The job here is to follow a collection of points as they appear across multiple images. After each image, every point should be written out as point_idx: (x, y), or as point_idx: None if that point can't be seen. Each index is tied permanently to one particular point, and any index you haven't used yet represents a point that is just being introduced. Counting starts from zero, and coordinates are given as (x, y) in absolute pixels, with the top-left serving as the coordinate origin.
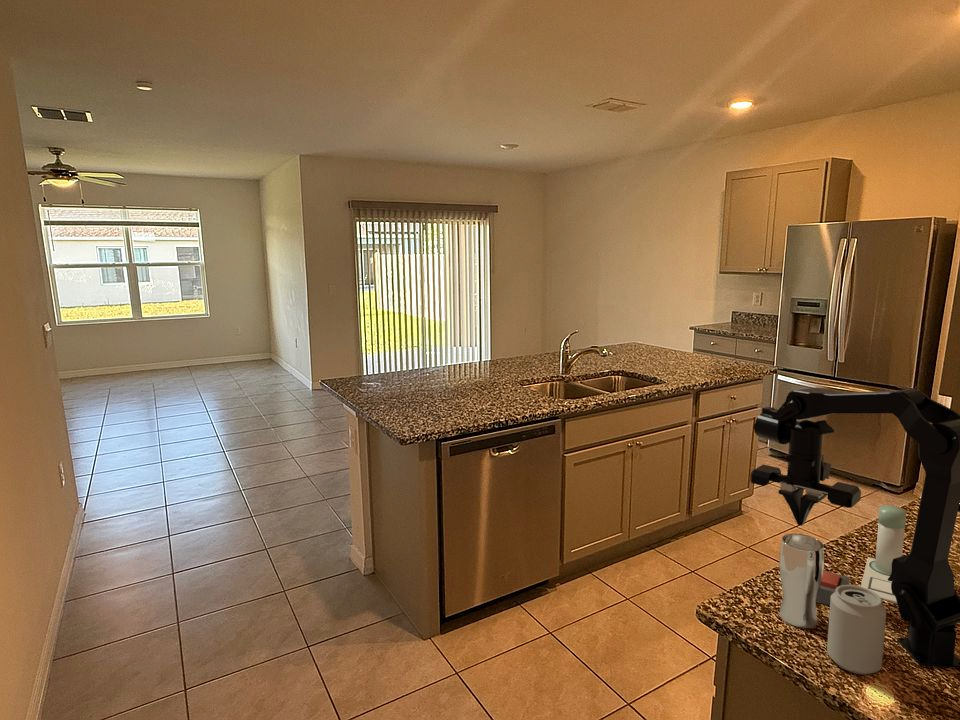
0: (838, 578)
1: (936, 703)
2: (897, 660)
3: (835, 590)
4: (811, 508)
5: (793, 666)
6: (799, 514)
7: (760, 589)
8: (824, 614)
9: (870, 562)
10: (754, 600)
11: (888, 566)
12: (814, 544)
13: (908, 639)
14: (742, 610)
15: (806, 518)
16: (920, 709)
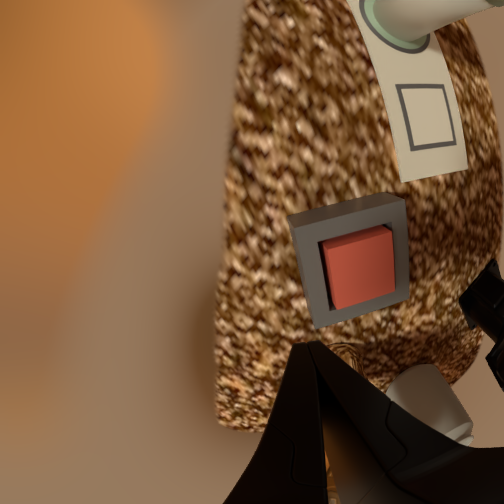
0: (392, 251)
1: (467, 365)
2: (451, 338)
3: (390, 297)
4: (402, 412)
5: None
6: (324, 446)
7: (234, 340)
8: (365, 323)
9: (360, 8)
10: (250, 376)
11: (417, 36)
12: None
13: (470, 294)
14: (253, 405)
15: (344, 364)
16: (454, 382)
